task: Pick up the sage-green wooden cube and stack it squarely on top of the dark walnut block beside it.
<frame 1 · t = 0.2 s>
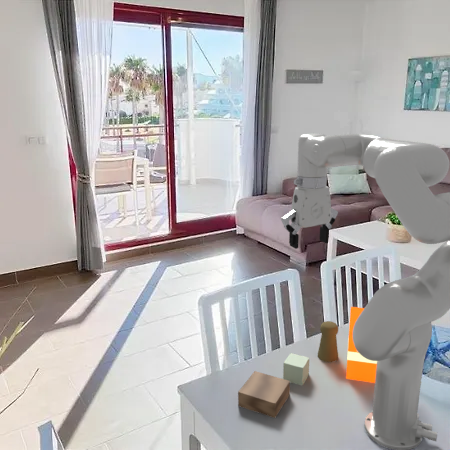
hand: (309, 244, 124), 36 cm above the table, tool pointing down, fingers open, 9 cm apart
condiment: (379, 341, 145), on the table
walnut block: (264, 401, 118), on the table
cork: (327, 357, 137), on the table
sage cube: (296, 377, 128), on the table
orange juice: (362, 374, 129), on the table
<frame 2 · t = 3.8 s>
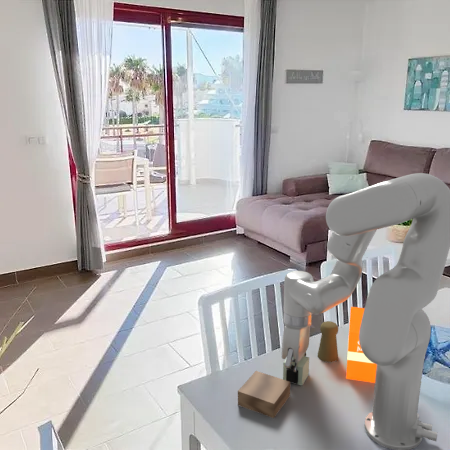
hand: (295, 375, 127), 1 cm above the table, tool pointing down, fingers closed on sage cube, 5 cm apart
sage cube: (295, 377, 128), on the table, touching gripper
everything else where it was.
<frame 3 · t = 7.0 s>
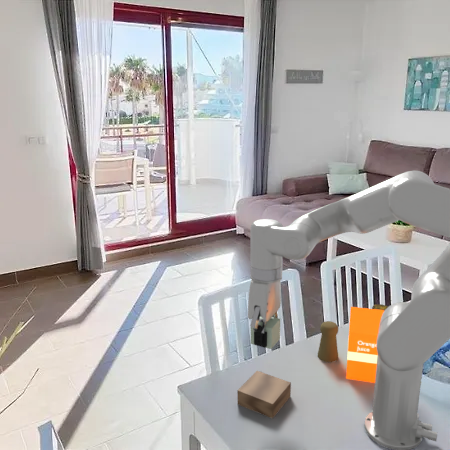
hand: (265, 339, 114), 18 cm above the table, tool pointing down, fingers closed on sage cube, 5 cm apart
sage cube: (265, 341, 114), point 17 cm above the table, touching gripper
everything else where it was.
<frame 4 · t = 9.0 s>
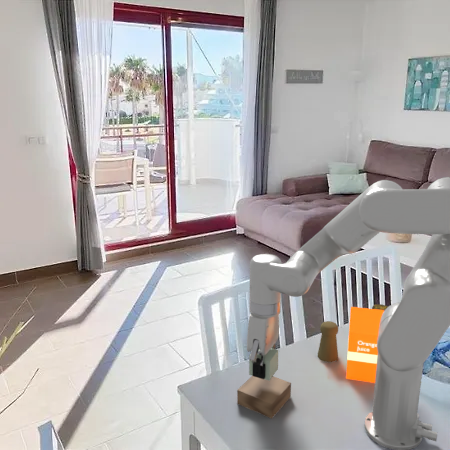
hand: (263, 369, 116), 9 cm above the table, tool pointing down, fingers closed on sage cube, 5 cm apart
sage cube: (263, 371, 116), point 8 cm above the table, touching gripper
everything else where it was.
when the fingers open (6 cm above the table, at t = 10.5 s): sage cube drops 2 cm, resting on walnut block.
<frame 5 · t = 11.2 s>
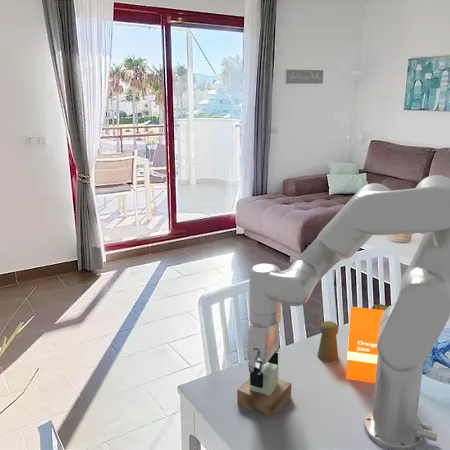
hand: (264, 375, 116), 7 cm above the table, tool pointing down, fingers open, 9 cm apart
walnut block: (264, 401, 118), on the table, touching sage cube
sage cube: (264, 386, 117), point 4 cm above the table, touching walnut block
everything else where it was.
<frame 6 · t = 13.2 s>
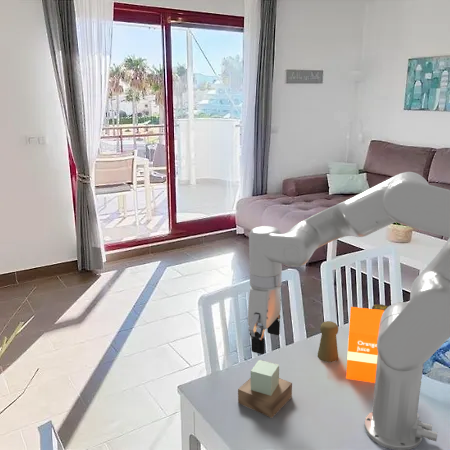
hand: (266, 342, 114), 17 cm above the table, tool pointing down, fingers open, 9 cm apart
nothing on the table moved.
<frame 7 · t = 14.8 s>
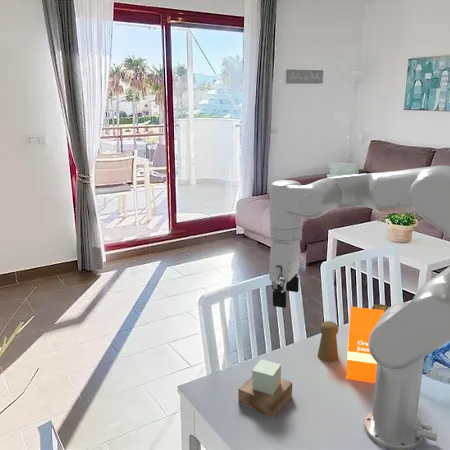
hand: (286, 298, 114), 27 cm above the table, tool pointing down, fingers open, 9 cm apart
nothing on the table moved.
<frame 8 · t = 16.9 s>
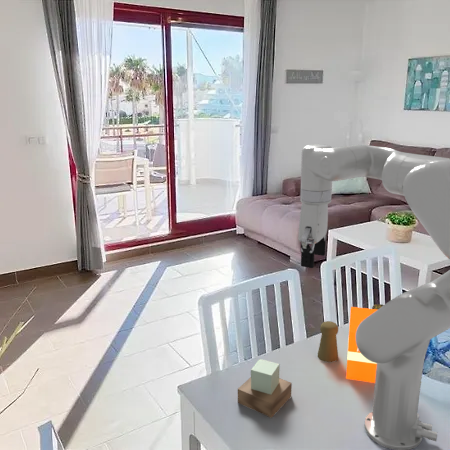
hand: (313, 260, 118), 34 cm above the table, tool pointing down, fingers open, 9 cm apart
nothing on the table moved.
at the end: sage cube 0.1 cm off-centre on the walnut block, point 4.5 cm above the walnut block's base; sage cube tilted 0°; the gripper is holding nothing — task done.
